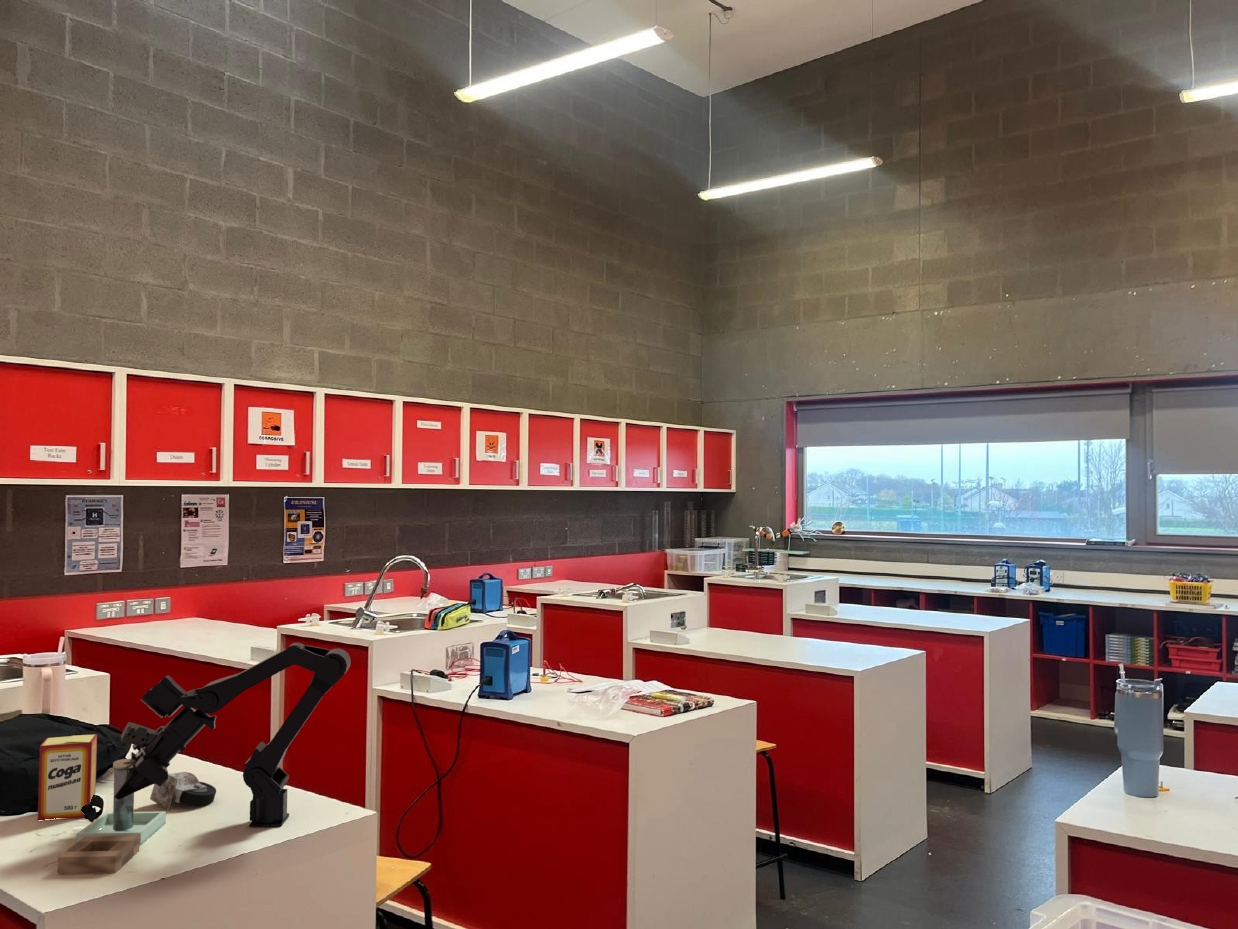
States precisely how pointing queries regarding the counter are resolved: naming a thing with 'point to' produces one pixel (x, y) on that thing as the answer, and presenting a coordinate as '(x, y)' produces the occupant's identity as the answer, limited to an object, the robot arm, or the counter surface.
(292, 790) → the counter surface
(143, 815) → the tray
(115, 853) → the block
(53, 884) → the counter surface
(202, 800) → the caster wheel
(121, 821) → the pin
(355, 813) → the counter surface
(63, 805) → the baking soda box
